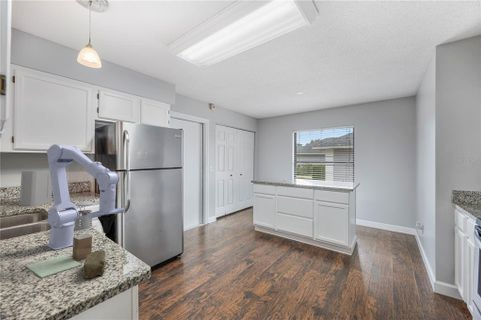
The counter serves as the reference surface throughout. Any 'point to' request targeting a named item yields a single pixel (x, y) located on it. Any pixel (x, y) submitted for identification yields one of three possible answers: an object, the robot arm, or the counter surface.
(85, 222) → the french press
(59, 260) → the sage mat
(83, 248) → the walnut block
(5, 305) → the counter surface
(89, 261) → the stone block
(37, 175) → the tall grey box
